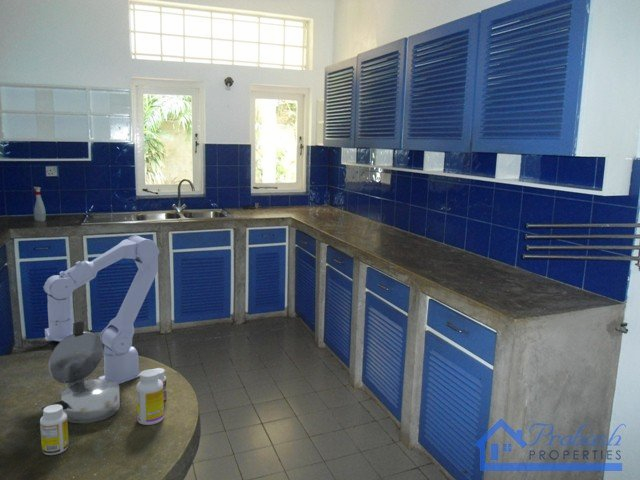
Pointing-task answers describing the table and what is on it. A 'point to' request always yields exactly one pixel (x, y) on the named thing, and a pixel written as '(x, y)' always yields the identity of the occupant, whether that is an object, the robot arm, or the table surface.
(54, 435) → the supplement bottle
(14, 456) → the table surface
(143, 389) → the supplement bottle
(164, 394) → the pill bottle
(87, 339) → the cooker lid
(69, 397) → the cooker pot
